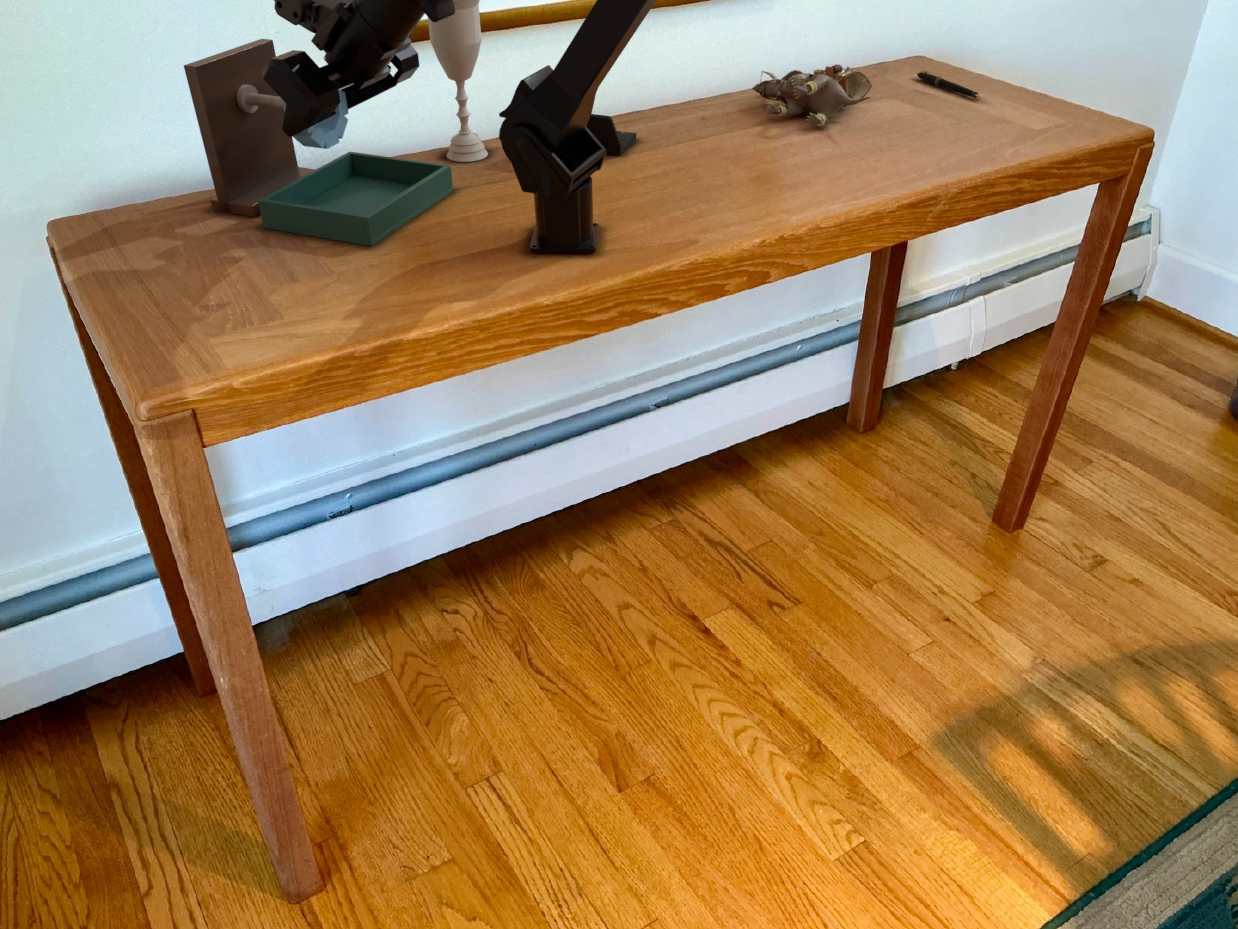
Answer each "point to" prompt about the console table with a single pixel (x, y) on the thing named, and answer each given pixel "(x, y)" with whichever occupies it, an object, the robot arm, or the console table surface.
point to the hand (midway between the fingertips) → (308, 122)
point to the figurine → (815, 92)
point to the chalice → (460, 69)
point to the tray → (357, 198)
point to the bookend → (610, 134)
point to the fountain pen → (946, 84)
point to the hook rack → (242, 127)
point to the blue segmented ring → (326, 128)
